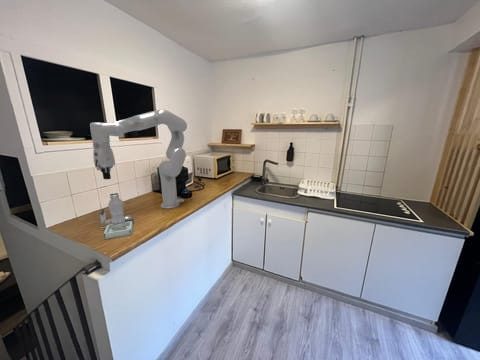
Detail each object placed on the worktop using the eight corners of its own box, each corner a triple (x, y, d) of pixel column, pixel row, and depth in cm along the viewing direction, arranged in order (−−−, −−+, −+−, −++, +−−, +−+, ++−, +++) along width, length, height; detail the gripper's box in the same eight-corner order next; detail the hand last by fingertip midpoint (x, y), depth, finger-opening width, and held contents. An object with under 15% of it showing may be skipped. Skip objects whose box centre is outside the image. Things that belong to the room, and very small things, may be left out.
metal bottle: (116, 227, 107) (110, 192, 102) (129, 227, 107) (124, 192, 102) (109, 234, 100) (103, 196, 95) (123, 233, 101) (117, 196, 96)
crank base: (134, 220, 117) (133, 217, 117) (133, 225, 112) (133, 221, 111) (101, 225, 111) (101, 222, 110) (99, 230, 105) (98, 227, 105)
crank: (131, 217, 115) (129, 205, 114) (131, 221, 111) (129, 208, 110) (102, 222, 110) (100, 209, 108) (100, 225, 106) (98, 212, 104)
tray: (132, 225, 111) (132, 221, 110) (131, 234, 101) (130, 229, 100) (108, 230, 106) (107, 224, 105) (104, 239, 97) (103, 234, 96)
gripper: (97, 147, 100) (103, 182, 104) (117, 145, 114) (122, 176, 119) (83, 147, 101) (90, 182, 105) (105, 145, 115) (110, 175, 119)
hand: (107, 178), depth 112 cm, fingers closed
